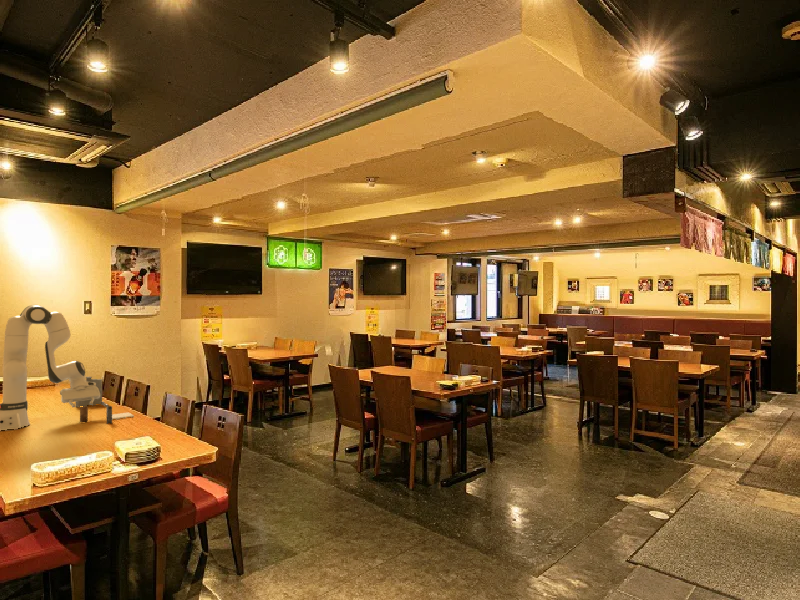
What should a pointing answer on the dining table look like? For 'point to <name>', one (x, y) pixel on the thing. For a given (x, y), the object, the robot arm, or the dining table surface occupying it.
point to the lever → (108, 412)
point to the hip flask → (96, 401)
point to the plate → (121, 415)
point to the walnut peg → (84, 414)
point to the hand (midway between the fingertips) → (82, 405)
